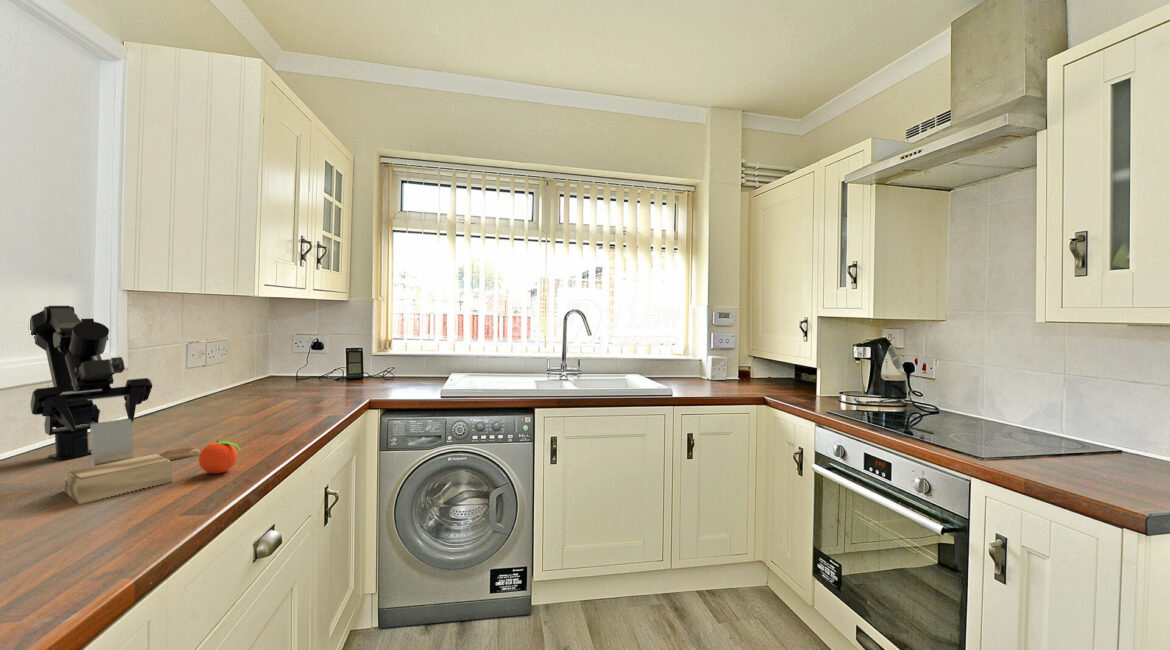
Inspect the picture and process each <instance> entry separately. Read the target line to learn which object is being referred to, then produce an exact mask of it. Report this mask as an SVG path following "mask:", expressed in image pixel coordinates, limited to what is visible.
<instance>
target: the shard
mask: <svg viewBox="0 0 1170 650" xmlns="http://www.w3.org/2000/svg"><path fill="white" fill-rule="evenodd" d="M200 453H201V451H200V450H199V449H198V448H197V447H194V446H192V445H188V446H184V447H180V448H176V449H172V450H171V449H170V450H167V451H165V452H163V453H160V454H159V455H160V456H162V457H164V458H166V459H168V460H172V461H175V459H176V460H181V459H185V458H190V457H196V456H199V455H200ZM180 458H181V459H180Z"/></svg>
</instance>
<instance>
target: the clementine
mask: <svg viewBox="0 0 1170 650" xmlns="http://www.w3.org/2000/svg"><path fill="white" fill-rule="evenodd" d="M236 448H238V450H239V451H240V452H242V450H241V448H240V447H239V446H238V445H237V444H236V443H234V442H231V441H220V440H217V441H215V442H211V443H208V445H206V446H205V447H203V449H202V450H201V451H200V452H201V453H200V455H198V456H199V457H198V464H199V466H200V468H201V469H202V470H203V471H204V472H207V473H209V474H215V475H216V474H217V475H218V474H222V473H225V472H226V471H229V470H230V469H232V467H234V465H235V464H236V462H237V460H238V453H237V452H238V451H237V449H236Z"/></svg>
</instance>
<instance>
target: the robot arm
mask: <svg viewBox="0 0 1170 650" xmlns="http://www.w3.org/2000/svg"><path fill="white" fill-rule="evenodd" d="M29 321H30V330H31V335H32V337H33V335H35V336H34V338H33V340H34V339H35V341H34V344H35V345H36V346H38V347H39V348H41V349H42V350H44V351H45V354H46V357H47V358H46V359H47V362H48V367H49V372H50V376H51V380H52V385H53V386H50V387H49V386H47V387H41V388H40V387H39V388H38V387H37V388H35V389H34V390H33V391H32V393H31V398H30V410H31V415H35V416H38V415H42V417H45V420H44V424H43V425H44V426H43V427H44V432H45V434H46V435H48V436H54V442H55V443H54V444H55V453H54V454H49V455H47V456H48V458H50V459H54V460H55V459H56V460H61V461H64V460H70V459H73V458H79V457H84V456H87V455H91V449H90V448H89V430H90V424H93V423H99V419H100V413H101V409H99V408H98V405H97V404H94V402H93V401H95V400H103V399H112V398H120V397H123V399H124V401H125V403H124V407H125V411H126V414H127V419H128V418H129V419H131V423H134V420H135V413H136V407H137V405H141V404H142V403H143V402H145V401H147V400H149V397H150V395H151V392H152V388H153V383H152V381H151V379H150V378H148V377H142V378H140V377H139V378H130V379H127V380H126V382H125V386H119V387H111V385H112V384H114V382H115V381H114V375H115V374H122V373H123V372H124V371H125V368H126V366H125V362H124V359H123V357H122V356H119V357H111V358H110V359H109V358H107V359H102V356H101V355H103V354H104V353H105V350H106V345H107V341H109V333H110V329H109V328H108V327H107V326H106V325H104V324H103V323H100V322H99V321H98V322H97V321H94V318H81V319H80V318H79V316H78V315H77V314H76V313H75V308H74V306H70V305H47V306H44V308H43V310H41V311H40V312H37V313H35V314H31V316H30V319H29Z"/></svg>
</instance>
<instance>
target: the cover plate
mask: <svg viewBox="0 0 1170 650" xmlns="http://www.w3.org/2000/svg"><path fill="white" fill-rule="evenodd" d="M132 427H133V425H132V422H131V419H129V418H128V417H127V418H123V419H117V420H116V419H115V420H108V421H101V422H98V423H93V424H90V429H89V430H90V450H91V454H90V455H91V466H97V465H102V464H107V463H112V462H117V461H122V460H127V459H132V458H134V454H133V453H134V452H133V451H134V450H133V429H132Z"/></svg>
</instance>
